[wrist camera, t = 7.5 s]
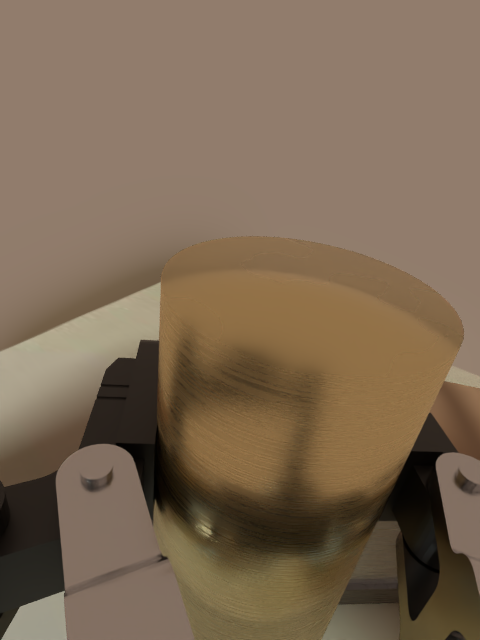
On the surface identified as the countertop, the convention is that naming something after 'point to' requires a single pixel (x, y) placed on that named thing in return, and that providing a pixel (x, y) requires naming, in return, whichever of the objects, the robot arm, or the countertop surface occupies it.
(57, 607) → the countertop surface
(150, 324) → the countertop surface
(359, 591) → the pivot stand
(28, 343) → the countertop surface
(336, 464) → the cylinder
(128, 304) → the countertop surface
